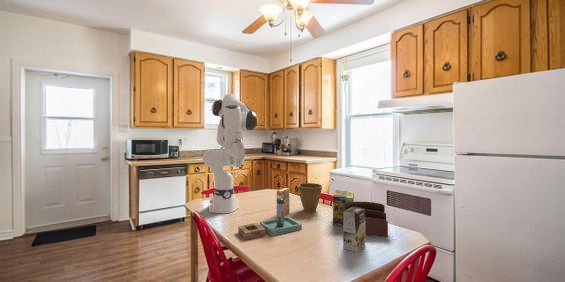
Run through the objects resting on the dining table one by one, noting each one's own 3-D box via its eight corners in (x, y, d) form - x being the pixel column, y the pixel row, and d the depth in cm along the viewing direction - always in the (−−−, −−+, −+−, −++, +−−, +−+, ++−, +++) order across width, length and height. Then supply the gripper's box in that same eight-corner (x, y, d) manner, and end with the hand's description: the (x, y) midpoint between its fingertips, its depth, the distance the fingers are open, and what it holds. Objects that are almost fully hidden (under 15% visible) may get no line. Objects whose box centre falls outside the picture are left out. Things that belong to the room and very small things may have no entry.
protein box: (332, 225, 138) (332, 196, 137) (335, 216, 153) (335, 190, 152) (352, 227, 135) (353, 197, 134) (353, 218, 150) (354, 191, 149)
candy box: (282, 217, 151) (282, 191, 150) (276, 216, 153) (276, 190, 152) (289, 213, 159) (289, 188, 158) (283, 212, 161) (283, 187, 160)
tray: (259, 226, 136) (259, 221, 136) (287, 221, 144) (287, 216, 144) (272, 235, 124) (272, 230, 124) (301, 229, 132) (301, 224, 132)
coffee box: (357, 252, 107) (357, 213, 106) (342, 248, 111) (342, 210, 110) (365, 245, 114) (366, 208, 113) (351, 241, 118) (352, 206, 117)
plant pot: (295, 212, 159) (295, 186, 159) (301, 206, 174) (301, 182, 173) (320, 214, 155) (320, 188, 154) (323, 208, 169) (323, 183, 169)
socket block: (238, 232, 128) (238, 226, 128) (256, 228, 133) (256, 222, 133) (245, 239, 119) (245, 233, 119) (265, 235, 124) (265, 229, 124)
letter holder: (344, 227, 136) (344, 200, 135) (384, 229, 132) (384, 202, 131) (344, 234, 126) (344, 205, 126) (388, 237, 122) (388, 207, 122)
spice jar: (275, 225, 135) (275, 198, 134) (281, 224, 137) (281, 197, 136) (278, 227, 131) (278, 200, 131) (285, 226, 133) (285, 199, 133)
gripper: (247, 139, 121) (248, 168, 123) (233, 136, 139) (234, 161, 141) (234, 140, 118) (235, 169, 120) (221, 137, 136) (223, 163, 138)
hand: (235, 165), depth 130 cm, fingers open, 8 cm apart
